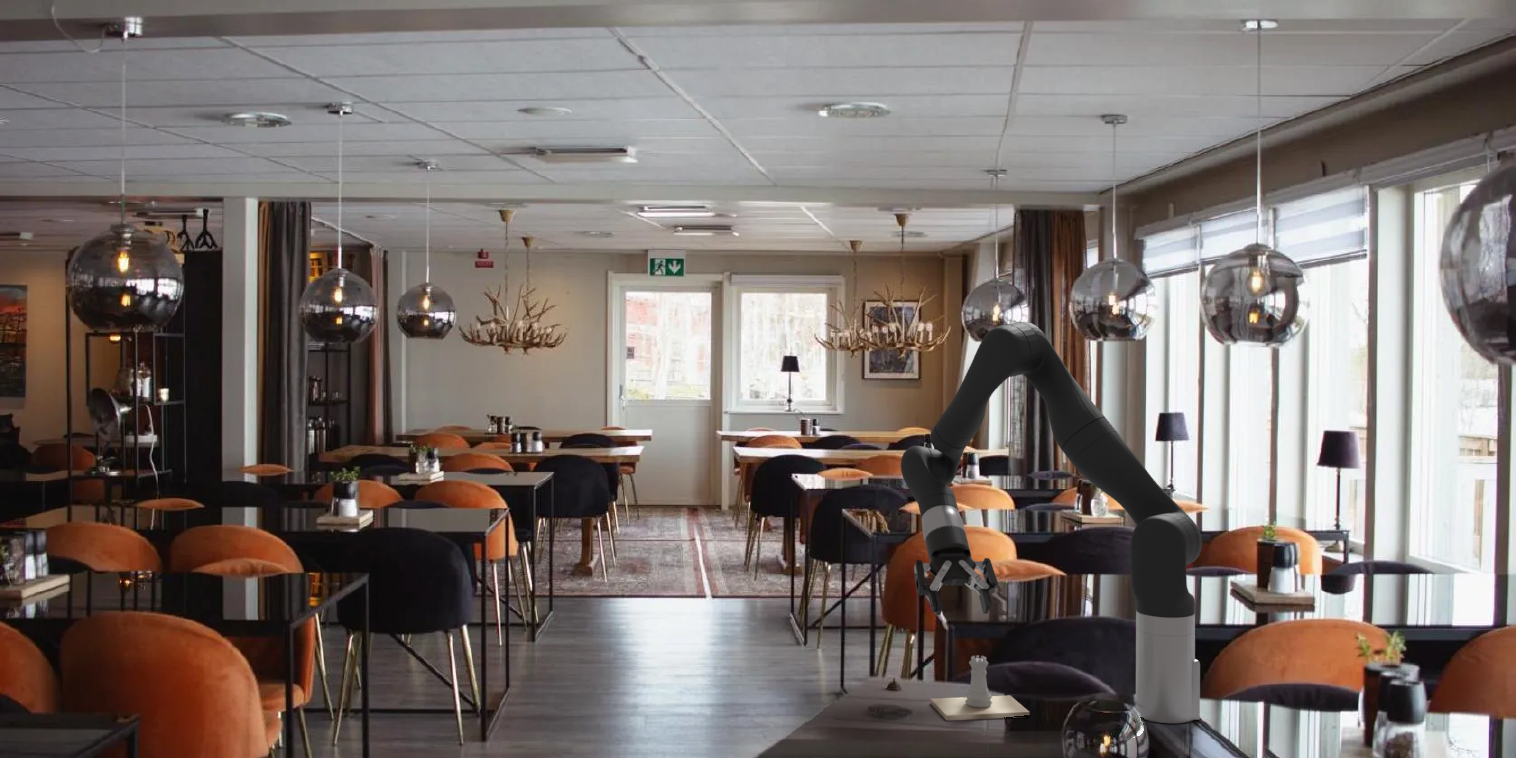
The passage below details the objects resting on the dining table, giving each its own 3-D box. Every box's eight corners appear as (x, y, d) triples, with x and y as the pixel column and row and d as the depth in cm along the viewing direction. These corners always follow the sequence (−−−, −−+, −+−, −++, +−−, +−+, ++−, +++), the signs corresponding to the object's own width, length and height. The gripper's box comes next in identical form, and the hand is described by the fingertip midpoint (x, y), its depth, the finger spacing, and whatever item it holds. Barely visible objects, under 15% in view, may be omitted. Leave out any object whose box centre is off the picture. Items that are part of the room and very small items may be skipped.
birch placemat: (1010, 699, 223) (1010, 695, 223) (1029, 716, 213) (1029, 711, 213) (930, 703, 221) (930, 698, 221) (946, 720, 212) (946, 715, 211)
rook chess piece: (992, 709, 215) (992, 661, 215) (964, 707, 216) (964, 660, 215) (992, 701, 219) (992, 654, 219) (965, 700, 220) (965, 653, 220)
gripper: (910, 525, 233) (927, 601, 222) (987, 523, 235) (1007, 598, 224) (903, 549, 239) (919, 625, 228) (978, 547, 240) (998, 622, 229)
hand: (963, 612), depth 226 cm, fingers open, 8 cm apart
